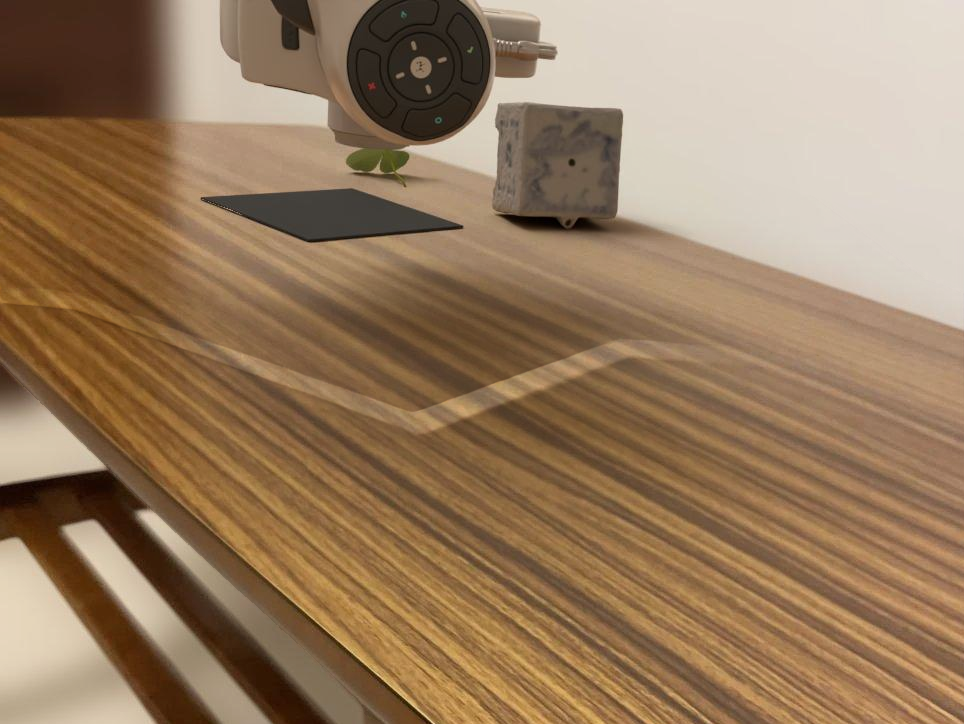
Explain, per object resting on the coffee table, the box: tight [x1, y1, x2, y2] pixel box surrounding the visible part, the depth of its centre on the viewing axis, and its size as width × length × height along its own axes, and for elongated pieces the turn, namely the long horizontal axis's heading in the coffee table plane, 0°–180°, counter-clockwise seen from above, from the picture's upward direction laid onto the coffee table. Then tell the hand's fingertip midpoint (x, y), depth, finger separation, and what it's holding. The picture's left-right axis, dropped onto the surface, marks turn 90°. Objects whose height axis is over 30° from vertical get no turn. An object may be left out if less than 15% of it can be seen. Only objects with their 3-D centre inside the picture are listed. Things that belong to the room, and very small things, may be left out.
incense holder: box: [491, 101, 624, 229], centre depth 111 cm, size 10×8×10 cm
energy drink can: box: [326, 100, 406, 151], centre depth 84 cm, size 6×6×15 cm
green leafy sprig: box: [345, 145, 410, 188], centre depth 122 cm, size 7×8×6 cm
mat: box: [200, 187, 464, 243], centre depth 106 cm, size 16×16×1 cm
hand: (374, 20), depth 84 cm, fingers closed on energy drink can, 6 cm apart
